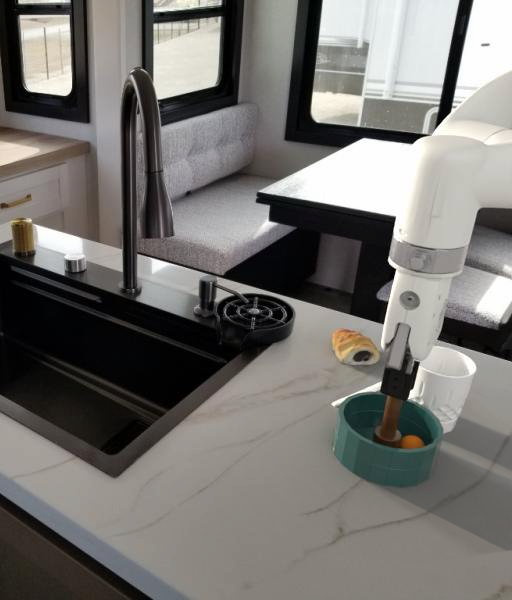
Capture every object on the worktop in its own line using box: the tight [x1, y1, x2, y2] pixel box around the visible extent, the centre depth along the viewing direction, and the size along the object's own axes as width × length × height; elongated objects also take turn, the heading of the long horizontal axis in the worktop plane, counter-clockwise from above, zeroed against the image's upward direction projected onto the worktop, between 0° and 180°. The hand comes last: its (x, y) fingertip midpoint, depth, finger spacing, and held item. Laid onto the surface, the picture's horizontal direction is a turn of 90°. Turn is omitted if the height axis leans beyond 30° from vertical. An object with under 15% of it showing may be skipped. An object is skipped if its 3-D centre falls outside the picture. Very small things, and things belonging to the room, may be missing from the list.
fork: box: [331, 381, 382, 408], centre depth 96 cm, size 3×20×2 cm, turn 118°
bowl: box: [331, 391, 444, 488], centre depth 81 cm, size 12×12×6 cm
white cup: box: [408, 345, 477, 434], centre depth 87 cm, size 8×8×10 cm
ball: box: [399, 435, 425, 449], centre depth 81 cm, size 3×3×3 cm
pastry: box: [331, 328, 381, 366], centre depth 105 cm, size 9×7×4 cm
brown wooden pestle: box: [372, 355, 409, 448], centre depth 79 cm, size 3×3×14 cm
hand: (396, 390), depth 78 cm, fingers closed on brown wooden pestle
